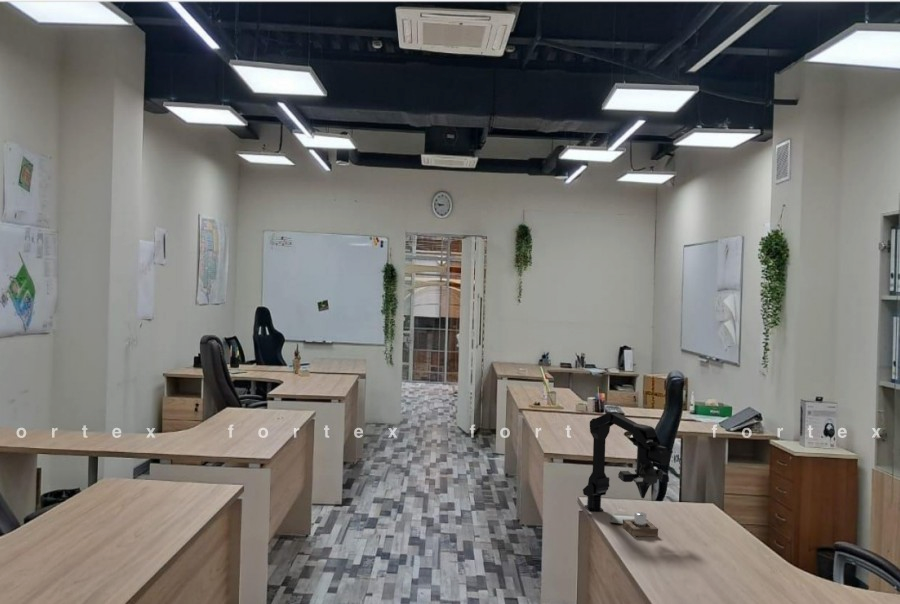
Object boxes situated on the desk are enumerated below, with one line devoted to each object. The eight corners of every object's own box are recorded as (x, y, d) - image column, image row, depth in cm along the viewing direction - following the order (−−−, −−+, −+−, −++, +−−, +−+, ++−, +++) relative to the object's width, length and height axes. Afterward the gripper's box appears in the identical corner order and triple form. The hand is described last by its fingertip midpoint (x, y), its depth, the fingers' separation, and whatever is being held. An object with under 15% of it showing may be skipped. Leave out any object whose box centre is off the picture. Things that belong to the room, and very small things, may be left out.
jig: (622, 527, 252) (622, 519, 251) (646, 526, 253) (646, 519, 253) (633, 536, 242) (633, 529, 242) (657, 536, 243) (658, 528, 243)
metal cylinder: (632, 529, 249) (632, 512, 249) (642, 529, 250) (643, 512, 250) (636, 534, 245) (637, 516, 245) (647, 533, 245) (648, 516, 245)
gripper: (630, 464, 239) (628, 505, 239) (676, 464, 241) (674, 505, 242) (618, 456, 250) (616, 495, 250) (663, 456, 252) (661, 495, 253)
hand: (642, 497), depth 249 cm, fingers closed
